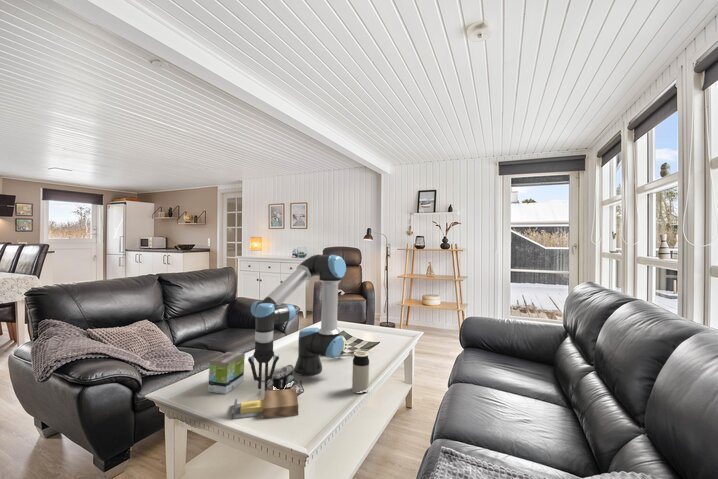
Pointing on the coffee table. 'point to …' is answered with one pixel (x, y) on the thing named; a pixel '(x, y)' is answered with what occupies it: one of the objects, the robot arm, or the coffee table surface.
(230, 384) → the tea box
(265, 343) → the robot arm
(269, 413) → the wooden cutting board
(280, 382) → the camera
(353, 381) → the travel mug
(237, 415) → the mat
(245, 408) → the yellow sticky note pad
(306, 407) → the coffee table surface
